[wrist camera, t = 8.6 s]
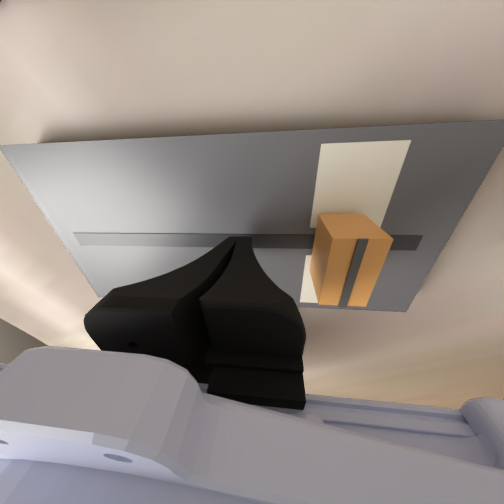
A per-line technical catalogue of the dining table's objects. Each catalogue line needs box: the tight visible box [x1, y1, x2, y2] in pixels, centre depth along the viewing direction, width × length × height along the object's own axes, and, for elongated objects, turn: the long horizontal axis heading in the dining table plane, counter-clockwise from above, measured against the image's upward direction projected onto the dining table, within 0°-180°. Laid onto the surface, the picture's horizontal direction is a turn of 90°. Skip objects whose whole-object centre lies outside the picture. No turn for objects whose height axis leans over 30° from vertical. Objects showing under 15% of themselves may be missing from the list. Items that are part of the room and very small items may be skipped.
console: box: [0, 120, 504, 312], centre depth 13 cm, size 12×26×2 cm, turn 92°
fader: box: [309, 214, 393, 308], centre depth 10 cm, size 4×2×3 cm, turn 2°
